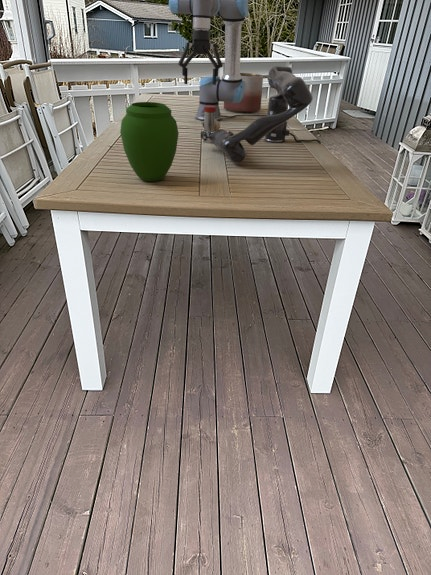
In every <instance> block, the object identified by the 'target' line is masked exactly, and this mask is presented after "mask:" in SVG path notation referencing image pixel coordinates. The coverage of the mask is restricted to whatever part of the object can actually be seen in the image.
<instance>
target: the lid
mask: <svg viewBox="0 0 431 575" xmlns="http://www.w3.org/2000/svg"><path fill="white" fill-rule="evenodd" d="M204 111H205V112H215V111H216V106H209V105H207V106H204Z"/></svg>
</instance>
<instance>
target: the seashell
mask: <svg viewBox="0 0 431 575" xmlns="http://www.w3.org/2000/svg"><path fill="white" fill-rule="evenodd" d="M219 121H220V120H218V121H217V119H216V118H215V121H214V132H215V131H216V130H219V129H221V124H220V122H219ZM202 127H203V129H204V121H202Z"/></svg>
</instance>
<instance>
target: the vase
mask: <svg viewBox="0 0 431 575" xmlns="http://www.w3.org/2000/svg"><path fill="white" fill-rule="evenodd" d="M125 113H126V114H125V115H124V117H122V119H121V122H120V123H121V124H120V130H119V133H120V138H121V142H122V147H123V150H124V154H125V155H126V158H127V160H128V163H129V165H130V167H131V168H132V170H133V172H134V173H135V175H136V176H137V177H138V178H139V179H141V180H143V181H145V182H159V181H161V180H163V179H164V178H165V176H166V175H167V174H168V173H169V170H170V169H171V167H172V165H173V162H174V159H175V157H176V156H175V155H176V153H177V147H178V140H179V129H178V122H177V120H176V119H175V117H174V116H173V115H172V109H171V108H170V107H169V106H167V105H166V104H164V103H162V102H155V101H138V102H132V103H131V104H130V105H128V107H127V108H125Z"/></svg>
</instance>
